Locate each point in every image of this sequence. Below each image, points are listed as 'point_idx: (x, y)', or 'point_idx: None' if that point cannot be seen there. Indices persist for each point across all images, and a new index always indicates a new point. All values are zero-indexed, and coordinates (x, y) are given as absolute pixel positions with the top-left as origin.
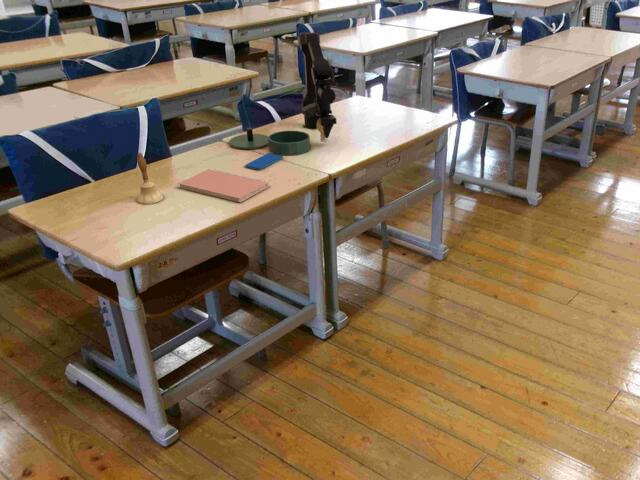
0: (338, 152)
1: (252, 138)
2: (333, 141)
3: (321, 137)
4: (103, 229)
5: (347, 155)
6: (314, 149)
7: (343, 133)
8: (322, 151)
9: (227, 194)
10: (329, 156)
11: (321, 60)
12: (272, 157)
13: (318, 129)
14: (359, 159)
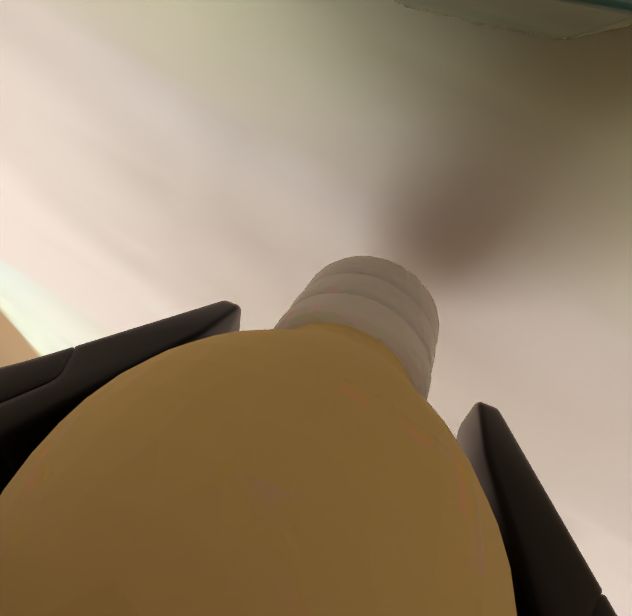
0: (147, 267)
1: None
2: (463, 417)
3: (339, 286)
4: None
5: (76, 283)
6: (322, 62)
7: (611, 596)
8: (209, 137)
9: None
10: (54, 130)
11: None
12: None
13: (255, 337)
14: (7, 298)
